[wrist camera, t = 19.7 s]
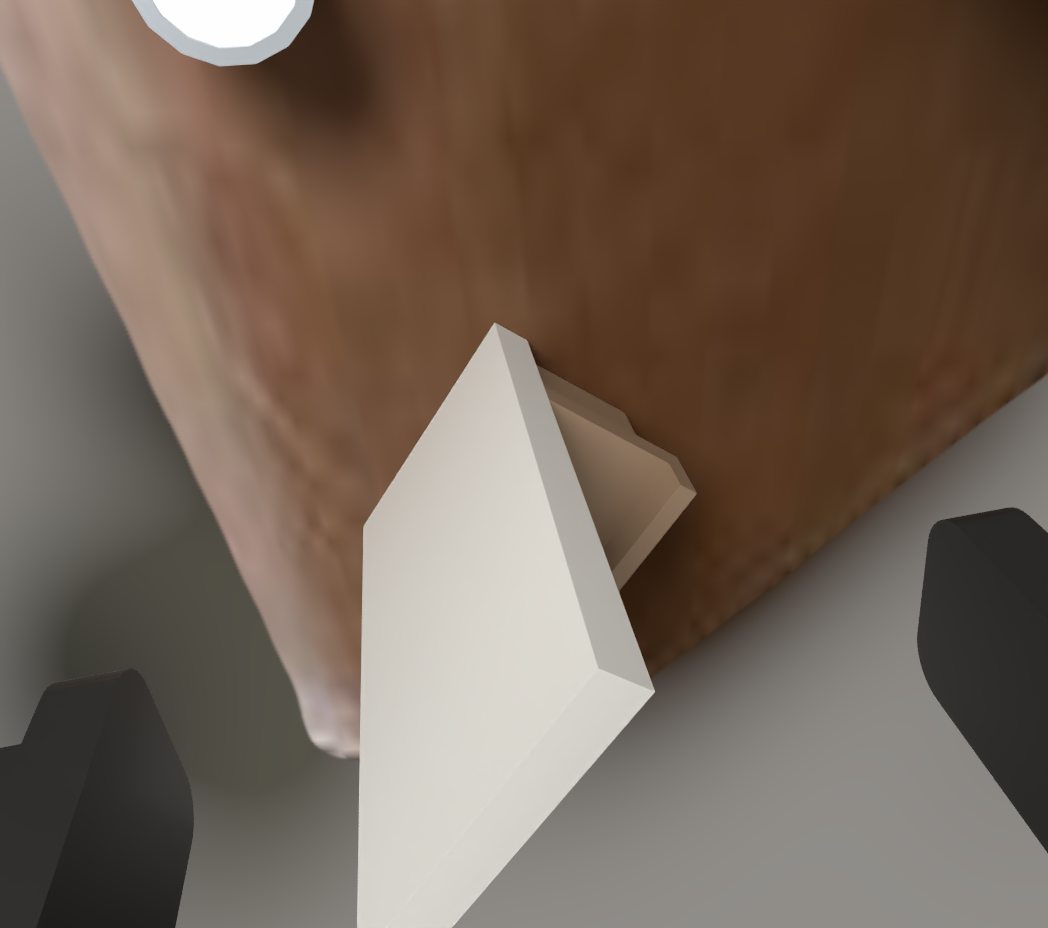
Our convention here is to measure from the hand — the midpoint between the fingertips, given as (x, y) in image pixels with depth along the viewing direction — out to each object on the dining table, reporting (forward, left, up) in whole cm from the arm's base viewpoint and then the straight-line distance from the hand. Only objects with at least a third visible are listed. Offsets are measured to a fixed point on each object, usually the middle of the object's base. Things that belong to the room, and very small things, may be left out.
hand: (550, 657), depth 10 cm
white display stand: (-1, +20, -38) cm, 43 cm away
